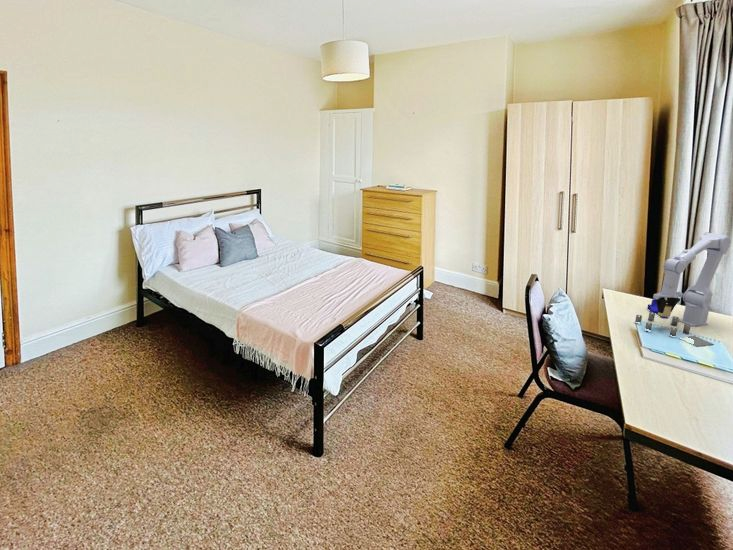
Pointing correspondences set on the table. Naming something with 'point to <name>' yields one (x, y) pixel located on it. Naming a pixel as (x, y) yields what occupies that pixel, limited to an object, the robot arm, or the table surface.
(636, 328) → the table surface
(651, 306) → the cable clip
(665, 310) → the brass nut
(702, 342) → the mat
